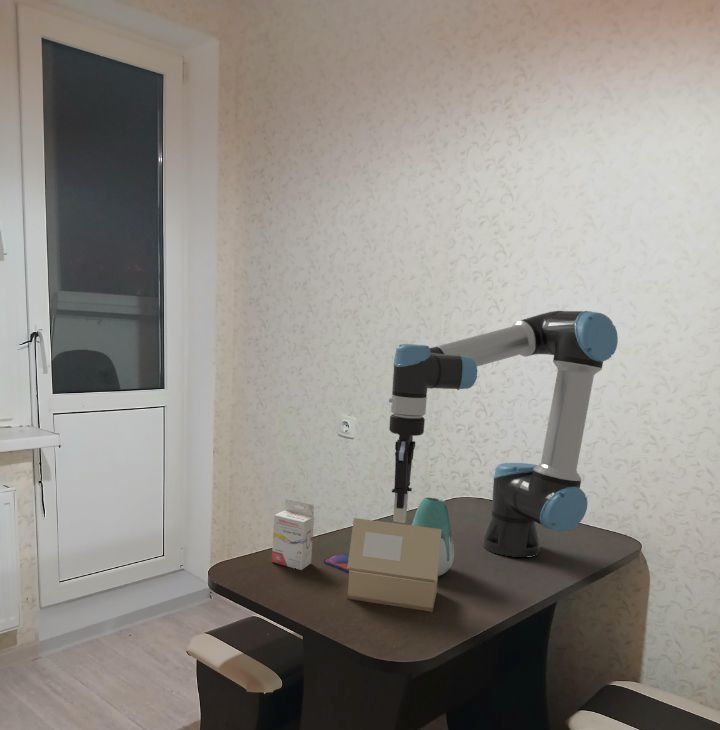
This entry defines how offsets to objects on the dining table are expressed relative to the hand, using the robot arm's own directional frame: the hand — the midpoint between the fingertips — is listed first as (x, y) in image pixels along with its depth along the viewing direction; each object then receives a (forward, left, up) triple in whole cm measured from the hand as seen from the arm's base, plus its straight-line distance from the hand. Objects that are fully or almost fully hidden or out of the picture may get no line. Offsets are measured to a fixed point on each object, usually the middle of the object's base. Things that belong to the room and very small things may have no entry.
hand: (399, 521), depth 139 cm
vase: (-6, -13, -16) cm, 21 cm away
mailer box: (0, +3, -15) cm, 16 cm away
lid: (0, +6, -4) cm, 8 cm away
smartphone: (+11, -9, -16) cm, 21 cm away
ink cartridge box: (+26, -6, -16) cm, 31 cm away
